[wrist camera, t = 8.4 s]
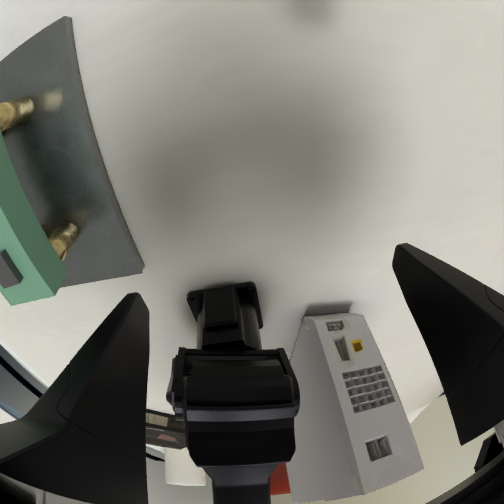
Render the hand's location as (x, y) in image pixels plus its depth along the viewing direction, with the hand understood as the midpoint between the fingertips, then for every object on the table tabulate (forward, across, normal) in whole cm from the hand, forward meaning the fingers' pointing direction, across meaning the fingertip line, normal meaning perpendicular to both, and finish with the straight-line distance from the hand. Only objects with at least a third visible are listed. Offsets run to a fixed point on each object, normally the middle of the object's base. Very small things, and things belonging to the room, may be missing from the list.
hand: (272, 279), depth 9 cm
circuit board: (+7, +17, -4) cm, 19 cm away
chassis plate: (+12, +17, -4) cm, 21 cm away
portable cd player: (+13, +27, +48) cm, 57 cm away
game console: (+12, -4, +29) cm, 32 cm away
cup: (+12, +31, +76) cm, 83 cm away
